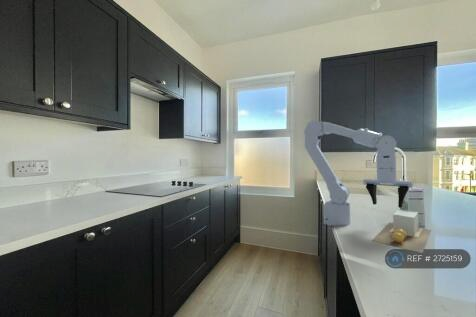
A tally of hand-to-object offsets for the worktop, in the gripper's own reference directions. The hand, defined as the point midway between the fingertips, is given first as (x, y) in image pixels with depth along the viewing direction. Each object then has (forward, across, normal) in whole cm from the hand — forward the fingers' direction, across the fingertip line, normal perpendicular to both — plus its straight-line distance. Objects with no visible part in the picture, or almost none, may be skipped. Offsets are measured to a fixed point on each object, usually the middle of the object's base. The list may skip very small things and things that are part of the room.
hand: (387, 205), depth 74 cm
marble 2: (+7, +5, -12) cm, 15 cm away
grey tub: (+8, +5, +2) cm, 10 cm away
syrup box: (+10, +5, +15) cm, 18 cm away
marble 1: (+7, +5, -8) cm, 12 cm away
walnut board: (+9, +5, -4) cm, 11 cm away
